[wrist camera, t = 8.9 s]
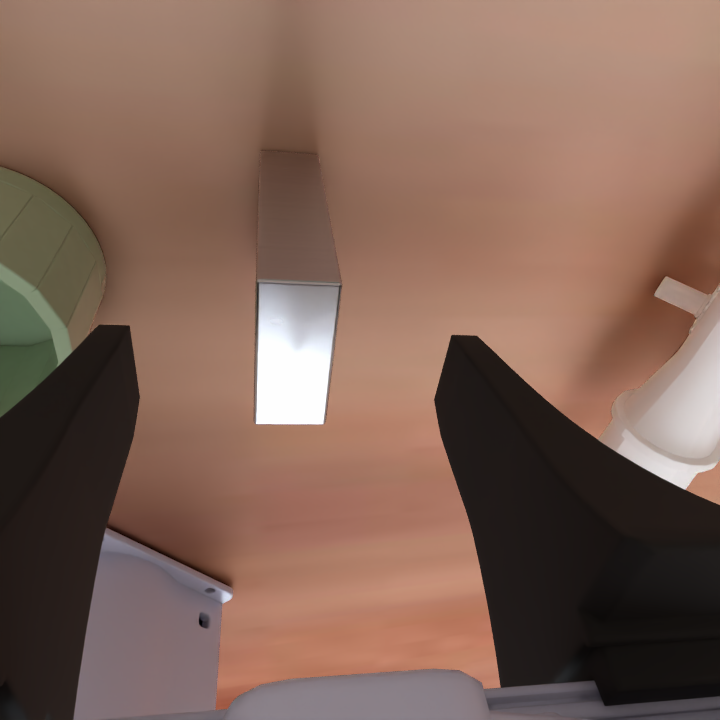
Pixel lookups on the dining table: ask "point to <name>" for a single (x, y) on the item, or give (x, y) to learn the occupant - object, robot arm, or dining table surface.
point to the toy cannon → (676, 399)
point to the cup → (42, 283)
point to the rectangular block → (294, 292)
